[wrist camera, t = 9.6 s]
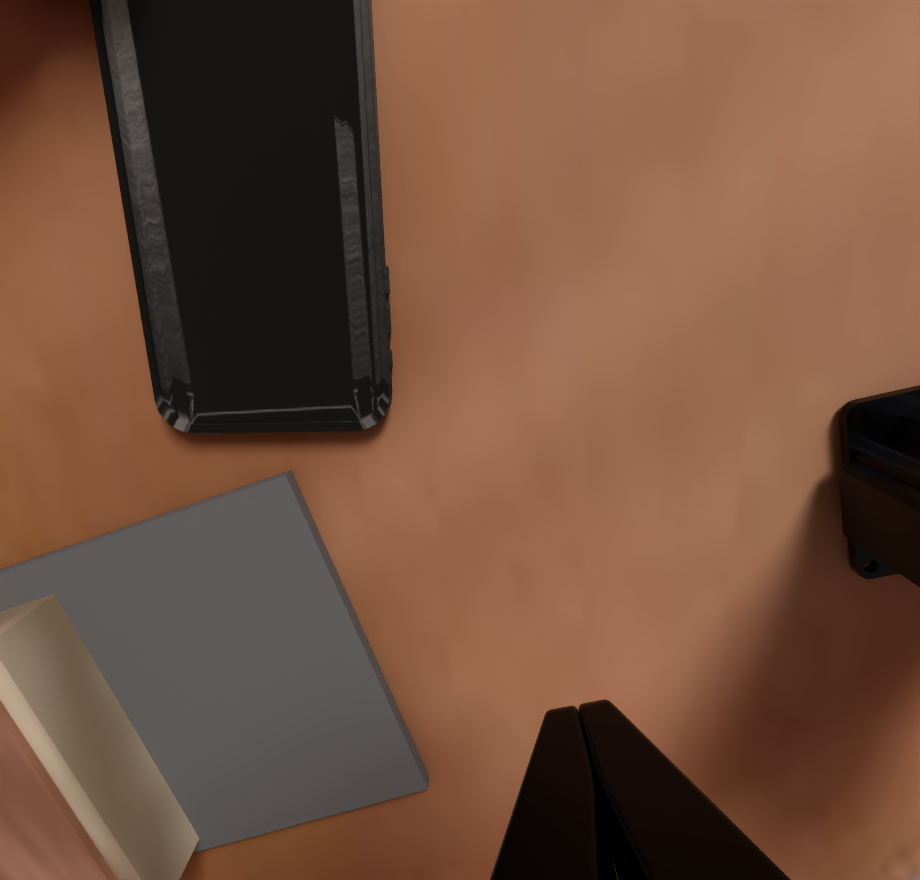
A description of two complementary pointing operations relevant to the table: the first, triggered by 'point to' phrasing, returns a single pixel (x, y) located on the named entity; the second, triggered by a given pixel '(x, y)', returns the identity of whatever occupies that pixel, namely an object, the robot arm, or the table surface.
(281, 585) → the rubber mat
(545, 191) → the table surface
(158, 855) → the small wooden box
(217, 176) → the phone
